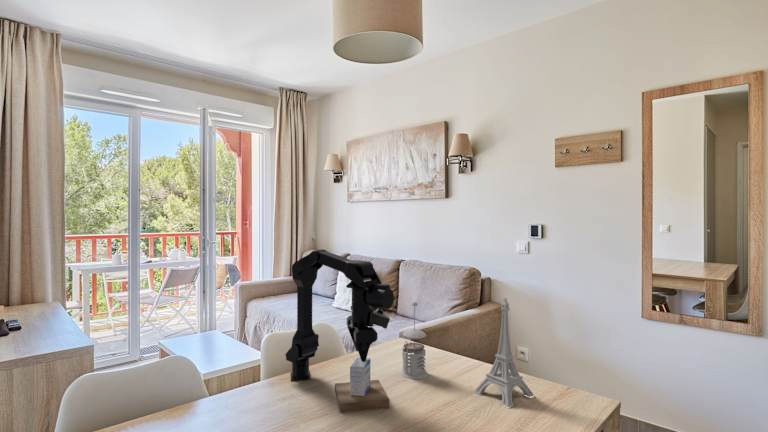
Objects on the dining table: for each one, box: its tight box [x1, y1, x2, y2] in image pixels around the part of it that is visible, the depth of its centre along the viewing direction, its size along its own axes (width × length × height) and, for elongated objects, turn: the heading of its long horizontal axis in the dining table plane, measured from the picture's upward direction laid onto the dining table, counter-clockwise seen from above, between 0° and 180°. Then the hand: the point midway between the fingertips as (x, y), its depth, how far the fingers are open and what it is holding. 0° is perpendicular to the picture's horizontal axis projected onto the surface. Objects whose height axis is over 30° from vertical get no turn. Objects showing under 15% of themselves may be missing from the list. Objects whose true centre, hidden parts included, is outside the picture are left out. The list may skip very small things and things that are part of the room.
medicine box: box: [349, 357, 371, 397], centre depth 123 cm, size 8×4×9 cm, turn 169°
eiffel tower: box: [472, 297, 535, 407], centre depth 128 cm, size 13×13×30 cm
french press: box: [399, 301, 429, 380], centre depth 143 cm, size 10×12×25 cm
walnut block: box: [334, 379, 390, 414], centre depth 123 cm, size 14×14×2 cm
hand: (360, 356), depth 123 cm, fingers open, 9 cm apart
